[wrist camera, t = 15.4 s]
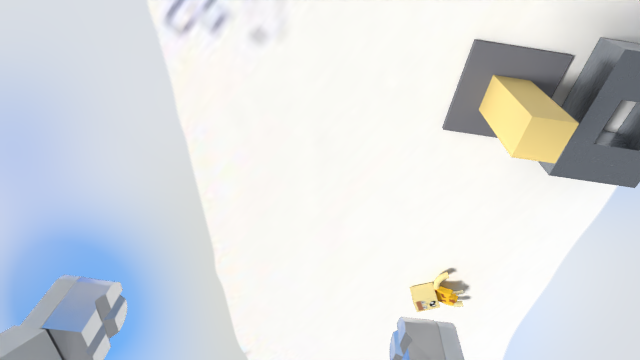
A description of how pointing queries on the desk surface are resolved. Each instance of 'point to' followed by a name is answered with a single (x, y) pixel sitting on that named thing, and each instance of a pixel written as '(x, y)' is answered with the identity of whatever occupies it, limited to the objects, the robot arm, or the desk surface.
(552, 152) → the square block
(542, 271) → the desk surface
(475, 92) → the rubber mat
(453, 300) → the character toy
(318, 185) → the desk surface
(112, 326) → the robot arm
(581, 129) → the grey block with hole
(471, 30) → the desk surface
